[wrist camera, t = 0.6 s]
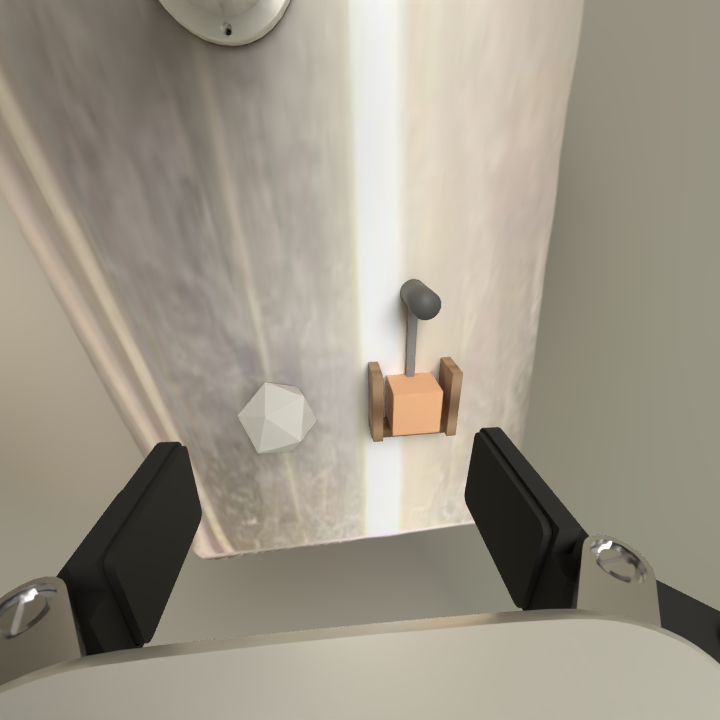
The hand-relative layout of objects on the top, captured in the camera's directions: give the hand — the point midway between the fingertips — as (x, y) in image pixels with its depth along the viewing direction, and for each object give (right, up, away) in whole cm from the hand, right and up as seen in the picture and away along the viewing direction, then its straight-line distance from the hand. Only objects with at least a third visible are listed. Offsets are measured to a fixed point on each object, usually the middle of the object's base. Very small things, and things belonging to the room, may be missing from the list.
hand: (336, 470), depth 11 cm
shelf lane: (+7, 0, +35) cm, 36 cm away
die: (-10, -2, +34) cm, 35 cm away
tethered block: (+7, +5, +32) cm, 33 cm away
